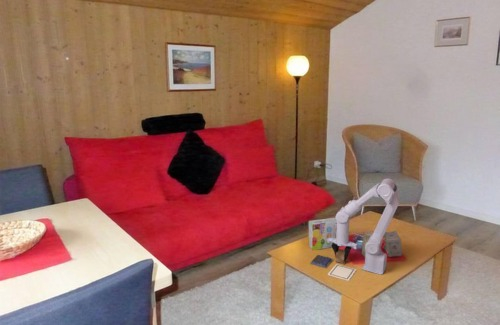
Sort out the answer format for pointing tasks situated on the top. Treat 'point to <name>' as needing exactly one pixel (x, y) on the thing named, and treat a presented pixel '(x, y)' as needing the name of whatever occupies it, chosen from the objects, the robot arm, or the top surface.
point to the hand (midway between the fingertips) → (341, 258)
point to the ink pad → (321, 261)
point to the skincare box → (366, 240)
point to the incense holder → (392, 244)
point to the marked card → (342, 272)
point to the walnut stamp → (340, 256)
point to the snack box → (322, 233)
